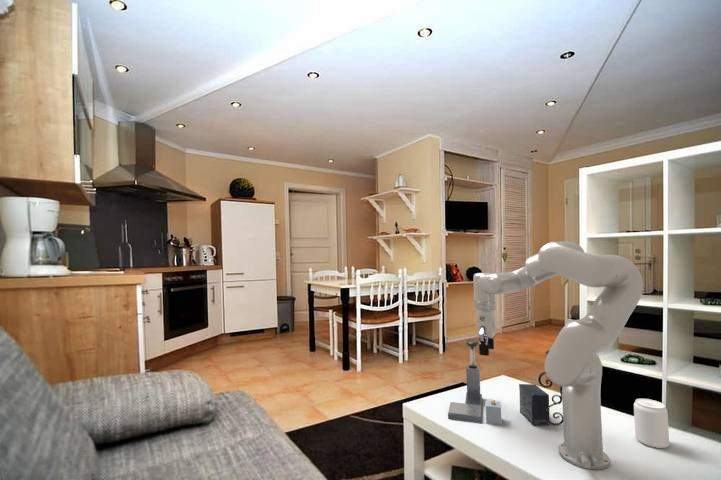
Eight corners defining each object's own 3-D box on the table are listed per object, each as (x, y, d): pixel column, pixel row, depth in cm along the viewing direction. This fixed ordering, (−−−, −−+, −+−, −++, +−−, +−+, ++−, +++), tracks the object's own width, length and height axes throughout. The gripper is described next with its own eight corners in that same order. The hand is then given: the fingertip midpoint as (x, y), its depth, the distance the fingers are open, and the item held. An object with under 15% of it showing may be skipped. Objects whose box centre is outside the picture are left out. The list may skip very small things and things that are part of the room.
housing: (501, 425, 121) (500, 404, 122) (486, 423, 123) (485, 402, 123) (500, 418, 126) (499, 398, 126) (486, 416, 128) (485, 396, 128)
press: (481, 423, 123) (480, 385, 123) (448, 418, 127) (447, 382, 127) (481, 397, 144) (480, 365, 145) (453, 394, 148) (452, 363, 148)
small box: (551, 425, 120) (550, 394, 121) (532, 426, 120) (531, 395, 121) (536, 411, 131) (535, 383, 131) (519, 412, 131) (518, 383, 131)
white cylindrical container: (656, 451, 103) (654, 410, 104) (629, 438, 111) (627, 399, 112) (676, 447, 106) (674, 406, 106) (647, 434, 113) (645, 396, 114)
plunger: (479, 376, 140) (477, 343, 141) (467, 375, 142) (465, 343, 142) (479, 373, 145) (478, 341, 145) (467, 372, 146) (466, 340, 147)
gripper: (491, 309, 122) (493, 359, 121) (499, 303, 137) (501, 347, 136) (469, 308, 126) (471, 356, 125) (479, 302, 141) (481, 345, 140)
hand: (486, 351), depth 131 cm, fingers open, 9 cm apart
